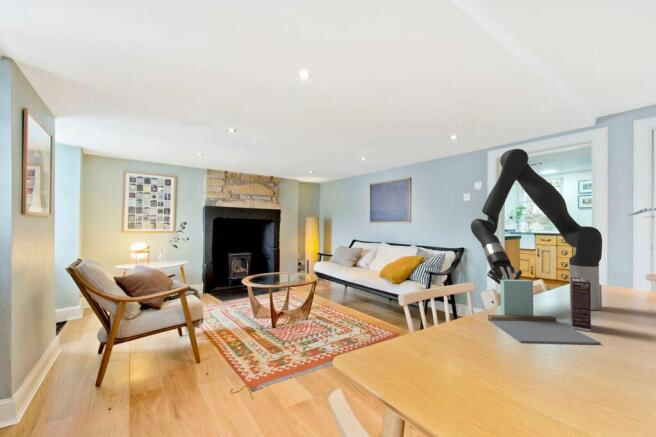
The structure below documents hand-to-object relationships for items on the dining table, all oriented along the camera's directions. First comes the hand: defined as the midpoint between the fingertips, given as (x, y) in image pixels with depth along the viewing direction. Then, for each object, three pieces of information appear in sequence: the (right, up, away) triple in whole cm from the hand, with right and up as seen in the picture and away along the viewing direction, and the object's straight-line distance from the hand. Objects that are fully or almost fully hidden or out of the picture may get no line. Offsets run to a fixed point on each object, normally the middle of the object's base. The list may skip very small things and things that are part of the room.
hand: (513, 293), depth 108 cm
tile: (0, -9, -2) cm, 9 cm away
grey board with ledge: (-1, -9, -14) cm, 16 cm away
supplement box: (+16, -9, -11) cm, 21 cm away
